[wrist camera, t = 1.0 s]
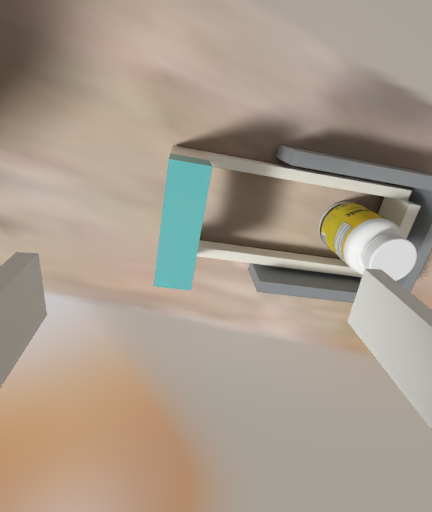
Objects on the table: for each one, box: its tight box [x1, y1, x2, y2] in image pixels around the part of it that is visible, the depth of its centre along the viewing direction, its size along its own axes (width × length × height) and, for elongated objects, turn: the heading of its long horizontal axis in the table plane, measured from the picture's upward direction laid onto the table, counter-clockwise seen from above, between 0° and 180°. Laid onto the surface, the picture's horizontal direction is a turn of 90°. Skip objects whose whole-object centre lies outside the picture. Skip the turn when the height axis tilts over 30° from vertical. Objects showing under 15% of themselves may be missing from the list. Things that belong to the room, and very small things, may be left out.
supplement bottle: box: [319, 201, 417, 281], centre depth 31 cm, size 5×5×10 cm
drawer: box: [154, 146, 421, 290], centre depth 30 cm, size 24×10×9 cm, turn 80°
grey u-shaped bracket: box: [248, 145, 432, 303], centre depth 33 cm, size 16×14×5 cm
